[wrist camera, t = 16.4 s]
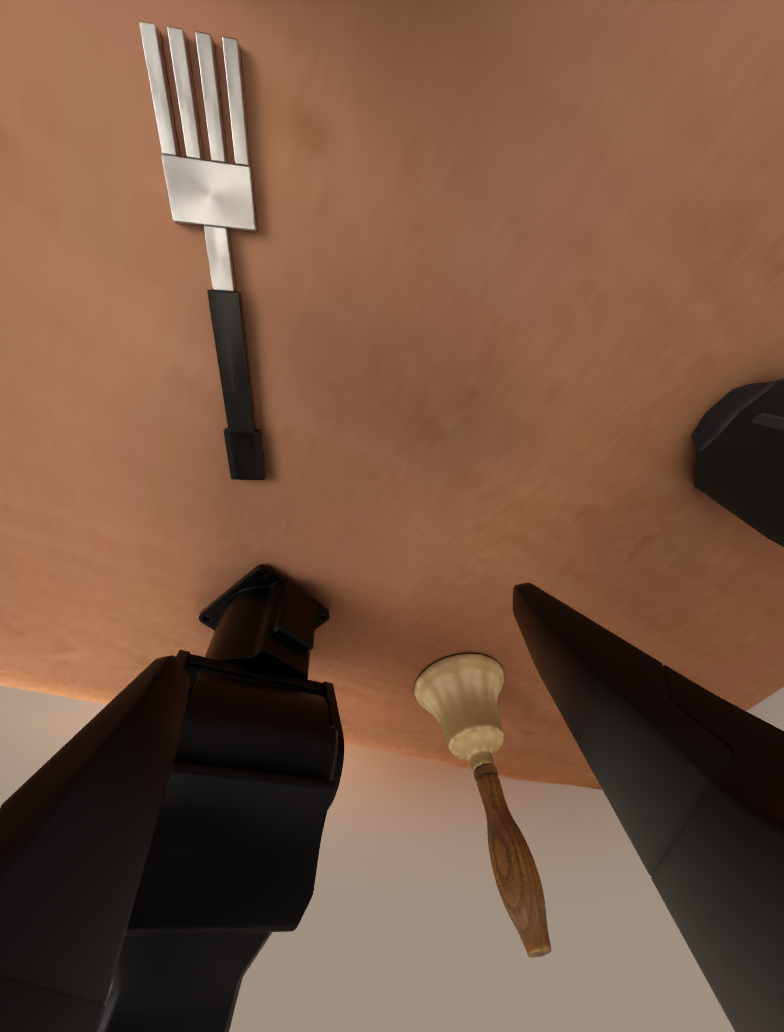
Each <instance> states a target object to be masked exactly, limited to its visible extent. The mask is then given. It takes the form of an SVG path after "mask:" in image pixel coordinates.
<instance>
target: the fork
mask: <svg viewBox="0 0 784 1032" xmlns="http://www.w3.org/2000/svg"><path fill="white" fill-rule="evenodd" d="M139 25H140V31H141V37H142V43H143V48H144V54H145V60H146V65H147V71H148V77H149V82H150V88H151V94H152V99H153V105H154V111H155V116H156V122H157V128H158V133H159V139H160V145H161V150H162V155H161V157H162V162H163V168H164V174H165V179H166V185H167V191H168V196H169V202H170V208H171V213H172V219H173V221H174V222H175V223H178V224H187V225H196V226H204V233H205V240H206V246H207V253H208V260H209V267H210V274H211V281H212V288H213V290H208V298H209V304H210V311H211V318H212V324H213V331H214V337H215V344H216V351H217V357H218V364H219V370H220V377H221V384H222V390H223V397H224V404H225V410H226V417H227V423H228V428H225V430H224V436H225V443H226V449H227V455H228V462H229V468H230V474H231V479H238V480H265V477H266V472H265V462H264V453H263V443H262V434H261V429H256V423H255V414H254V405H253V396H252V388H251V379H250V370H249V361H248V352H247V343H246V334H245V326H244V317H243V308H242V299H241V293H239V292H236V287H235V279H234V270H233V262H232V253H231V245H230V236H229V230H228V229H231V230H240V231H249V232H257V223H256V211H255V200H254V188H253V177H252V169H251V166H250V155H249V143H248V132H247V121H246V109H245V98H244V87H243V75H242V64H241V53H240V45H239V43H238V40H237V39H234V38H229V37H224V36H223V37H222V44H223V54H224V63H225V73H226V82H227V92H228V102H229V111H230V121H231V130H232V140H233V150H234V159H235V164H229V163H227V154H226V145H225V136H224V127H223V118H222V109H221V100H220V91H219V82H218V73H217V64H216V55H215V46H214V41H213V38H212V36H211V35H210V34H207V33H202V32H197V31H196V32H195V37H196V44H197V52H198V60H199V68H200V76H201V84H202V92H203V99H204V107H205V115H206V123H207V131H208V139H209V146H210V154H211V160H212V161H207V160H203V152H202V145H201V137H200V130H199V123H198V115H197V108H196V100H195V93H194V86H193V78H192V71H191V63H190V56H189V49H188V41H187V36H186V34H185V32H184V30H183V29H181V28H175V27H170V26H167V31H168V38H169V44H170V51H171V57H172V64H173V71H174V77H175V84H176V90H177V97H178V104H179V110H180V117H181V123H182V130H183V136H184V143H185V150H186V156H187V158H185V157H180V155H179V149H178V143H177V137H176V130H175V124H174V118H173V111H172V105H171V99H170V92H169V86H168V80H167V74H166V67H165V61H164V55H163V48H162V42H161V36H160V31H159V29H158V28H157V26H156V25H155V24H154V23H148V22H143V21H139Z"/></svg>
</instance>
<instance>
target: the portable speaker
mask: <svg viewBox="0 0 784 1032" xmlns="http://www.w3.org/2000/svg"><path fill="white" fill-rule="evenodd" d="M692 437H693V439H694V441H695V444H696V446H697V449H698V450H697V458H696V464H695V471H694V472H695V476H696V483H695V487H696V488H698V489H699V490H701V491H703V492H704V493H706V494H707V495H708V496H710V497H711V498H712V499H713V500H715V501H716V502H717V503H719V504H720V505H722V506H723V507H724V508H726V509H727V510H729V511H730V512H731V513H733V514H734V515H736V516H737V517H738V518H740V519H741V520H743V521H744V522H746V523H747V524H748V525H750V526H751V527H753V528H754V529H755V530H757V531H758V532H760V533H761V534H763V535H764V536H765V537H767V538H768V539H770V540H772V541H774V542H776V543H777V544H779V545H781V546H783V547H784V379H781V380H777V381H775V382H767V383H757V384H749V385H745V386H742V387H739V388H736V389H733V390H732V391H731V392H729V393H728V394H727V395H726V396H725V397H724V398H723V399H722V400H721V401H719V402H718V403H717V404H716V405H715V406H714V407H713V408H712V409H710V410H709V411H708V412H707V413H706V415H705V416H704V418H703V419H702V421H701V422H700V424H699V425H698V427H697V428H696V430H695V432H694V433H693V435H692Z"/></svg>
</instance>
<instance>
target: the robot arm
mask: <svg viewBox="0 0 784 1032" xmlns="http://www.w3.org/2000/svg"><path fill="white" fill-rule="evenodd" d="M260 571H264V572H265V573H261V572H260ZM513 612H514V616H515V618H516V621H517V623H518V625H519V628H520V630H521V633H522V635H523V638H524V640H525V642H526V645H527V647H528V650H529V652H530V654H531V657H532V659H533V662H534V664H535V666H536V668H537V670H538V672H539V674H540V676H541V678H542V680H543V682H544V684H545V685H546V687H547V689H548V691H549V693H550V694H551V696H552V698H553V700H554V702H555V704H556V705H557V707H558V709H559V711H560V713H561V715H562V716H563V718H564V720H565V722H566V724H567V725H568V727H569V729H570V731H571V733H572V735H573V736H574V738H575V740H576V742H577V744H578V746H579V747H580V749H581V751H582V753H583V755H584V756H585V758H586V760H587V762H588V764H589V766H590V767H591V769H592V771H593V773H594V775H595V777H596V778H597V780H598V782H599V784H600V786H601V787H602V789H603V791H604V793H605V795H606V796H607V798H608V800H609V802H610V804H611V806H612V808H613V809H614V811H615V813H616V815H617V816H618V818H619V820H620V822H621V824H622V826H623V828H624V829H625V831H626V833H627V835H628V837H629V838H630V840H631V842H632V844H633V846H634V848H635V849H636V851H637V853H638V855H639V857H640V859H641V860H642V862H643V864H644V866H645V867H646V869H647V871H648V873H649V875H650V876H652V877H651V879H652V881H653V883H654V884H655V886H656V888H657V890H658V892H659V894H660V895H661V897H662V899H663V901H664V903H665V904H666V906H667V908H668V910H669V912H670V914H671V916H672V917H673V919H674V921H675V923H676V924H677V926H678V928H679V930H680V932H681V934H682V936H683V937H684V939H685V941H686V943H687V945H688V946H689V948H690V950H691V952H692V954H693V956H694V957H695V959H696V961H697V963H698V965H699V967H700V968H701V970H702V972H703V974H704V976H705V978H706V979H707V981H708V983H709V985H710V987H711V988H712V990H713V992H714V994H715V996H716V998H717V999H718V1001H719V1003H720V1004H721V1007H722V1009H723V1010H724V1012H725V1014H726V1016H727V1018H728V1020H729V1021H730V1023H731V1025H732V1026H733V1029H734V1030H735V1032H784V731H782V730H780V729H778V728H776V727H774V726H773V725H771V724H769V723H767V722H765V721H763V720H761V719H759V718H757V717H756V716H754V715H752V714H750V713H748V712H746V711H744V710H742V709H740V708H739V707H737V706H735V705H733V704H731V703H729V702H728V701H726V700H724V699H722V698H720V697H718V696H717V695H715V694H713V693H711V692H709V691H708V690H706V689H704V688H703V687H701V686H699V685H697V684H696V683H694V682H692V681H691V680H689V679H687V678H686V677H684V676H682V675H681V674H679V673H677V672H676V671H674V670H672V669H671V668H669V667H667V666H665V665H664V666H663V665H662V663H661V662H659V661H657V660H656V659H654V658H652V657H651V656H649V655H648V654H646V653H644V652H643V651H641V650H639V649H638V648H636V647H634V646H633V645H631V644H630V643H628V642H626V641H625V640H623V639H621V638H620V637H618V636H616V635H615V634H613V633H612V632H610V631H608V630H607V629H605V628H603V627H602V626H600V625H598V624H597V623H595V622H594V621H592V620H590V619H589V618H587V617H585V616H584V615H582V614H580V613H579V612H577V611H576V610H574V609H572V608H571V607H569V606H567V605H566V604H564V603H562V602H561V601H559V600H558V599H556V598H554V597H553V596H551V595H549V594H548V593H546V592H545V591H543V590H541V589H540V588H538V587H536V586H535V585H533V584H531V583H523V584H518V585H515V586H514V588H513ZM321 615H324V616H321ZM206 616H208V617H206ZM329 617H330V613H329V610H328V609H326V608H325V607H323V606H322V605H321V604H319V603H318V602H317V601H316V600H315V599H314V598H312V597H311V596H310V595H308V594H307V593H306V592H304V591H303V590H302V589H300V588H299V587H298V586H296V585H295V584H293V583H292V582H290V581H288V580H287V579H285V578H284V577H283V576H281V575H280V574H279V573H277V572H276V571H275V570H273V569H272V568H271V567H269V566H267V565H264V564H262V565H258V566H257V567H256V568H254V569H253V570H252V571H251V572H249V573H248V574H247V575H246V576H245V577H243V578H242V579H241V580H240V581H238V582H237V583H236V584H235V585H233V586H232V587H231V588H230V589H228V590H227V591H226V592H225V593H224V594H222V595H221V596H220V597H219V598H217V599H216V600H215V601H214V602H212V603H211V604H210V605H209V606H208V607H206V608H205V609H204V610H203V611H202V612H201V613H200V616H199V620H200V622H202V623H203V624H205V625H207V626H208V627H210V628H212V629H214V630H215V632H214V635H213V637H212V640H211V642H210V645H209V648H208V650H207V653H206V655H205V657H202V656H197V655H192V654H190V652H188V651H183V650H179V652H178V654H177V656H176V657H175V656H166V657H162V658H158V659H156V660H154V661H153V662H152V663H151V664H150V665H149V666H148V667H147V668H146V669H145V670H144V671H143V672H142V673H141V674H139V675H138V676H137V677H136V678H135V679H134V680H133V681H132V682H131V683H130V684H129V685H128V686H127V687H126V688H125V689H124V690H123V691H121V692H120V693H119V694H118V695H117V696H116V697H115V698H114V699H113V700H112V701H111V702H110V703H109V704H108V705H107V706H106V707H105V708H104V709H102V710H101V711H100V712H99V713H98V714H97V715H96V716H95V717H94V718H93V719H92V720H91V721H90V722H89V723H88V724H87V725H86V726H85V727H83V728H82V729H81V730H80V731H79V732H78V733H77V734H76V735H75V736H74V737H73V738H72V739H71V740H70V741H69V742H68V743H67V744H65V746H63V747H62V748H61V749H60V750H59V751H58V752H57V753H56V754H55V755H54V756H53V757H52V758H51V759H50V760H49V761H47V763H45V764H44V765H43V766H42V767H41V768H40V769H39V770H38V771H37V772H36V773H35V774H34V775H33V776H32V777H31V778H29V779H28V781H26V782H25V783H24V784H23V785H22V786H21V787H20V788H19V789H18V790H17V791H16V792H15V793H14V794H13V795H12V796H11V797H10V798H8V800H6V801H5V802H4V803H3V804H2V806H1V808H0V1032H229V1029H230V1025H231V1021H232V1017H233V1013H234V1008H235V1004H236V1000H237V997H238V993H239V989H240V985H241V982H242V978H243V976H244V974H245V973H246V971H247V969H248V968H249V967H250V965H251V964H252V962H253V961H254V959H255V958H256V956H257V955H258V953H259V952H260V950H261V949H262V947H263V946H264V944H265V943H266V941H267V940H268V938H269V936H270V935H271V934H272V932H285V931H286V932H287V931H294V930H295V929H296V928H297V926H298V924H299V922H300V920H301V918H302V916H303V914H304V912H305V910H306V908H307V906H308V904H309V902H310V900H311V898H312V895H313V891H314V884H315V877H316V869H317V862H318V855H319V848H320V842H321V836H322V832H323V827H324V822H325V818H326V814H327V810H328V809H329V807H330V806H331V804H332V802H333V800H334V797H335V795H336V792H337V789H338V786H339V782H340V777H341V773H342V767H343V759H344V738H343V731H342V726H341V721H340V717H339V712H338V707H337V702H336V697H335V692H334V687H333V683H329V682H323V683H321V682H316V681H311V680H307V679H308V669H309V657H310V650H312V649H313V644H314V631H315V629H317V628H318V627H319V626H321V625H322V624H324V623H325V622H326V621H328V620H329Z"/></svg>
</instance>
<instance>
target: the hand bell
mask: <svg viewBox="0 0 784 1032" xmlns="http://www.w3.org/2000/svg"><path fill="white" fill-rule="evenodd" d="M503 683H504V672H503V669H502V667H501V666H500V665H499V663H498V662H496V661H495V660H494V659H492V658H490V657H487V656H484V655H480V654H460V655H455V656H451V657H448V658H444V659H442V660H440V661H438V662H436V663H434V664H432V665H431V666H429V667H428V668H427V669H426V670H424V672H423V673H422V674H421V675H420V676H419V678H418V679H417V681H416V683H415V686H414V694H415V698H416V700H417V701H418V703H419V704H420V705H421V706H422V707H423V708H424V709H425V710H426V711H428V712H430V713H432V714H433V715H434V716H435V718H436V719H437V721H438V723H439V724H440V726H441V728H442V731H443V733H444V736H445V738H446V741H447V744H448V747H449V750H450V751H451V753H452V754H453V755H455V756H456V757H458V758H461V759H465V760H469V761H470V762H471V765H472V768H473V771H474V777H475V780H476V781H477V786H478V789H479V792H480V795H481V798H482V801H483V805H484V808H485V812H486V817H487V826H488V845H489V852H490V857H491V863H492V867H493V872H494V876H495V880H496V883H497V887H498V890H499V893H500V896H501V898H502V901H503V903H504V905H505V908H506V909H507V911H508V913H509V916H510V918H511V919H512V921H513V923H514V925H515V927H516V929H517V931H518V933H519V935H520V937H521V939H522V942H523V944H524V946H525V948H526V951H527V954H528V956H529V957H540V956H543V955H546V954H548V953H550V952H551V945H550V940H549V935H548V928H547V920H546V910H545V901H544V895H543V889H542V885H541V880H540V877H539V874H538V871H537V868H536V865H535V862H534V859H533V857H532V854H531V852H530V849H529V847H528V845H527V843H526V840H525V838H524V837H523V835H522V833H521V831H520V829H519V827H518V826H517V824H516V823H515V821H514V819H513V818H512V816H511V814H510V812H509V809H508V807H507V804H506V801H505V798H504V795H503V791H502V788H501V784H500V780H499V778H498V773H497V769H496V767H495V764H494V760H493V757H492V754H493V753H494V752H496V751H497V750H498V749H499V748H500V747H501V745H502V743H503V740H504V735H503V730H502V727H501V723H500V718H499V713H498V695H499V693H500V691H501V689H502V687H503Z"/></svg>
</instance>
